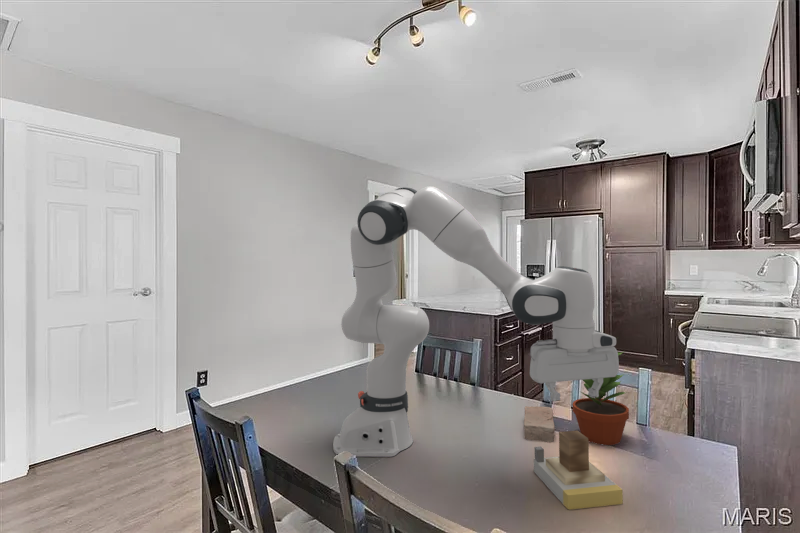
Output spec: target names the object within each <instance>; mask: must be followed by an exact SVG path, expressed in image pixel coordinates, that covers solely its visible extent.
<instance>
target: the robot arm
mask: <svg viewBox="0 0 800 533" xmlns="http://www.w3.org/2000/svg"><path fill="white" fill-rule="evenodd" d="M410 230H415V231H418V232H420V233H421V234H423V235H424V236H425V237H426V239H428V240H430V242H431V243H432V244H434V245H435V246H436V248H438V249H439V250H440V251H441V252H443V253H445V254H446V255H447V256H449V257H450V258H452V259H454V260H455V261H458V262H460V263H463V264H466V265H468V266H471V267H472V268H474V269H476V270H478V271H479V272H480V273H481V274H482V275H483V276H485V278H487V279H488V280H489V281H490V282H491V283H492V284H493V285H494V286H495V287H496V288H498V289H499V290H500V292H502V294H503V295H504V297H505V299H506V302H507V305H508V307H509V308H510V310H511V311H512V313H514V315H515V317H516V318H517V319H518V320H519V321H520V322H522V323H524V324H527V325H531V326H536V325H543V324H544V325H545V324H548V323H552V339H544V340H543V339H542V340H540V339H539V340H537V341H536V342H534V343H533V344H532V345H531V346H530V362H529V363H530V365H529V376H530V378H531V379H532V380H533V381H534V382H536V383H538V384H544V385H545V386H546V388H547V390H548V391H549V392H550V394H549V395H550V397H549V398H550V400H551V401H552V402H560V401H561V393H560V392H558V391H557V390H556V389H555V388H556V386H557V385H556V384H557V383H560V382H570V381H571V382H572V381H583V380H585V379H592V380H594V383H593V385H592V387H591V388H588V391H589V392H588V391H587V392H588V393H587V395H589V396H590V397H592V398H595V397H599V389H600V387H601V386H602V384H603V378H607V377H615V376H616V375H619V371H620V364H619V362H620V361H619V360H620V359H619V356H618V353H619V351H618V350H617V348H616V347H615V346H616V345H617V338H616V337H615V336H613V335H610V334H607V333H604V332H601V331H599V330H596V329H595V328H596V325H595V324H596V323H595V321H594V317H593V316H594V310H595V289H594V282H593V277H592V275H591V274H590V273H589V272H588V271H587V270H585V269H583V268H577V267H571V266H561V265H559V266H556V267H554V268H553V270H551V271H550V272H548V273H547V274H544V275H542V276H540V277H538V278H535V279H534V278H531V277H528V276H525V275H523V274H522V273H520V272H519V271H517V270H516V269H515V268H514V267H513V266H512V265H511V264H510V263H508V262H507V260H505V258H503V257H502V256H501V255H500V254H499V253H498V252H497V251H496V249H495V248H494V247H493V245H492V243H491V241H490V240H489V237H488V234H487V232H486V230H485V229H484V228H483V226H482V225H481V224H480V222H479V221H478V220H477V219H476V218H475V217H474V215H473V214H472V213H471V212H470V211H469V210H468V209H467V208H465V207H464V206H463V205H462V204H461V203H460V202H458V201H457V200H456V198H455V199H454V198H453V197H452V196H450V195H449V194H448V193H446V192H445V191H443V190H442V189H441V188H438V187H436V186H433V185H427V186H424V187H422V188H420V189H418V190H416V189H414V188H413V187H412V188H411V187H398V188H395V189H394V190H391V191H387V192H385V193H383V194H381V195H380V196H379V197H377V198H375V199H374V200H372V201H370V202H368V203H367V204H366V205H365V206H364V207H363V208H362V209H361V210H360V211H359V214H358V217H357V222H356V223H355V224H354V225H353V226H352V228H351V230H350V254H351V259H352V260H351V261H352V265H353V272H354V276H355V277H354V279H355V283H356V284H355V285H356V293H355V298H354V300H353V303H352V304H351V305H349V307H348V308H347V309H346V310H345V311H344V313H343V316H341V317H342V318H341V324H340V325H341V329H342V332H343V334H344V337H346V339H348V340H351V341H354V342H358V343H362V344H376V345H377V344H378V345H383V346H384V349H383V354H380V355H377V356H376V357H375V358H373V359H372V360H370V362H368V364H367V367H366V369H365V370H366V392H365V391H363V390H360V391H359V392H357V396H358V397H357V398H358V400H359V407H358V408H357V409H355V410H354V411H353V412H351V413H350V414H349V415H347V416H346V418H344V420H343V422H342V426H341V429H340V432H339V433H338V434H336V436H334V439H333V442H332V443H333V444H332V449H333V452H334V453H335V455H337V454H339V453H341V452H343V451H348V452H350V453H351V454H353V455H356V456H355V457H370V458H371V457H373V458H374V457H376V458H377V457H384V458H385V457H387V458H388V457H395V456H396V455H397V454H399V452H401V451H403V450H405V449H407V448H409V447H411V446H412V444H413V442H414V439H413V436H412V433H411V429H410V424H409V417H408V411H409V395H408V392H407V391H408V390H406V389H407V385H406V383H407V382H406V381H407V378H406V377H407V364H408V361H409V358H410V356H411V354H412V352H413V351H414V350H415V349H416V347H418V346H419V345H420V344H421V343H422V342H424V340H426V338H427V336H428V334H429V332H430V320H429V317H428V315H427V313H426V312H425V310H424V309H423V308H419V307H416V306H412V305H408V304H407V305H405V304H401V305H400V304H394V305H393V304H384V303H383V298H385V297H387V296H388V295H390V294H391V293H392V292H394V290H395V289H396V287H397V285H398V284H397V283H398V276H397V275H398V274H397V270H396V264H395V258H394V257H395V256H394V250H393V246H392V245H393V244H392V243H393V242H395V240H397V239H399V238H400V237H402V236H404V235H405V234H407V233H408V232H409V231H410ZM554 387H555V388H554Z"/></svg>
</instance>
